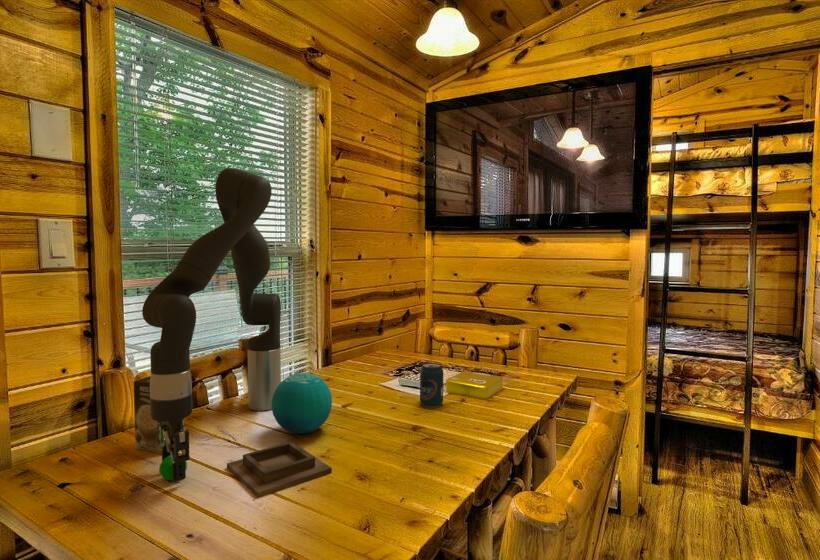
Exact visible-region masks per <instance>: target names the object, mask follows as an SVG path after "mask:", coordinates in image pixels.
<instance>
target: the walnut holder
mask: <svg viewBox="0 0 820 560" xmlns="http://www.w3.org/2000/svg"><path fill="white" fill-rule="evenodd" d="M226 468H227V470H229V472H230V473H232V474H233V475H234V476H235V478H237V479H238V480H239V481H240V482H241V483H242V484H243V485H244V486H245V487H246V488H247V489H248V490H249V491H250V492H251V493H252V494H253V495H254V496H255V497H256V498H262V497H264V496H267V495H269V494H273V493H275V492H279V491H282V490H284V489H288V488H290V487H293V486H296V485H300V484H302V483H305V482H308V481H311V480H314V479H317V478H320V477H323V476H326V475H329V474H332V472H333V471H332V470H333V469H332V467H331V466H330V465H328V464H327V463H325V462H324V461H322V460H321V459H319V458H318V457H316V456H315V455H313V454H311V453H310V452H309V451H307V450H306V449H305V448H302V447H301V446H300V445H298V444H297V443H294V442H293V441H288V442H285V443H280V444H277V445H273V446H270V447H266V448H262V449H259V450H255V451H251V452H248V453H245V454H242V458H241V459H238V460H237V459H236V460H234V461H230V462H226Z"/></svg>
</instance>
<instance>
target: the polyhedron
mask: <svg viewBox="0 0 820 560" xmlns="http://www.w3.org/2000/svg"><path fill="white" fill-rule="evenodd" d="M179 455H180V454H178V456H179ZM171 460H172V459H171V455H170V456H168V457H166V458H164V460H163V461H162V460H161V462H160V464H159V468H158V469H159V474H160V475H161V477H162V479H163V480H165V481H172V482H175V481H174V480H173V475H172V461H171ZM187 469H188V463H187V461H185V472H186V471H187Z"/></svg>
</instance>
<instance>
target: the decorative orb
mask: <svg viewBox="0 0 820 560" xmlns="http://www.w3.org/2000/svg"><path fill="white" fill-rule="evenodd" d="M332 405H333V396H332V391H331V389H330V387H329V386H328V384H327V383H326V382H325V381H324V380H323V379H322V378H321V377H319V376H317V375H315V374H313V373H309V372H298V373H294V374H292V375H290V376H288V377H286V378H284V379H283V380H281V383H280V384H279V385H278V387H277V389H276V390H275V392H274V395H273V398H272V409H271V411H272V412H271V413H272V415H273V417H274V419H275V421H276V423H277V424H278V425H279V426H280V427H281V428H282V429H284V430H285V431H287V432H288V433H291V434H297V435H305V434H308V433H312V432H314V431H316V430H318V429H319V428H321V426H323V425H324V424H325V422H326V421H327V419H328V418H329V417H330V414H331V411H332V407H333V406H332Z"/></svg>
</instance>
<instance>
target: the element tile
mask: <svg viewBox="0 0 820 560" xmlns="http://www.w3.org/2000/svg"><path fill="white" fill-rule="evenodd" d="M503 383H504V382H503V377H502V376H500V375H494V374H493V375H492V374H487V373H481V372H474V371H469V370H463V371H461V372H459V373H456V374H455V375H453V376H451V377H449V378H447V379H446V380H445V392H446V393H448V394H453V395H458V396H464V397H469V398H474V399H481V400H487V399H488V400H489V399H490V398H491V397H493V396H495V395H496V394H498V393H499V392H501V391H502V390H503Z"/></svg>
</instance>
